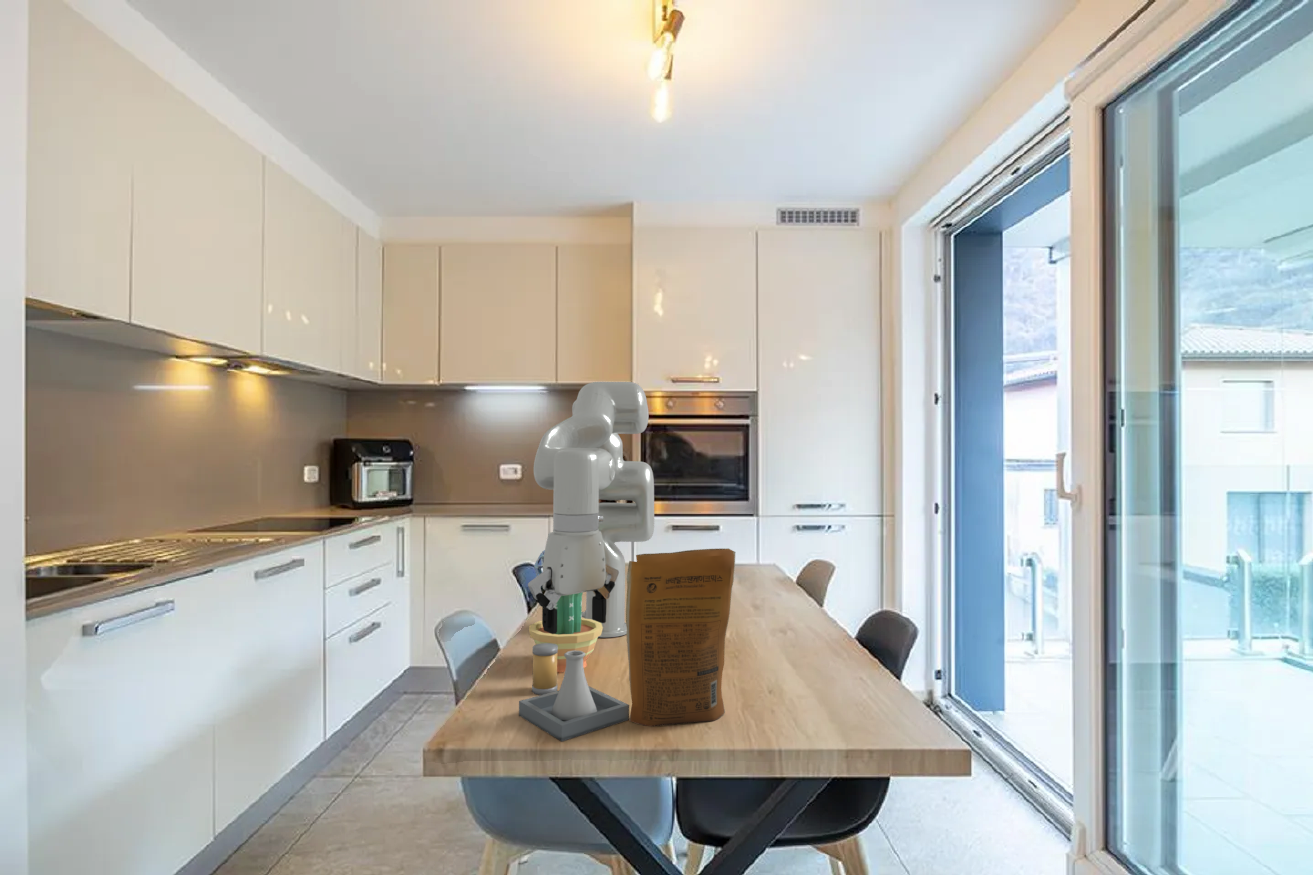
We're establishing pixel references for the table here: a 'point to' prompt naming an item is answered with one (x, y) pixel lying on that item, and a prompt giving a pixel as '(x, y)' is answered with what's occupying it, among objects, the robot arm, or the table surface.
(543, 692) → the fuse
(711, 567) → the pancake mix bag
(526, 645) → the table surface
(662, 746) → the table surface
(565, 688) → the flask
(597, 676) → the table surface
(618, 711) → the tray
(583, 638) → the potted cactus
